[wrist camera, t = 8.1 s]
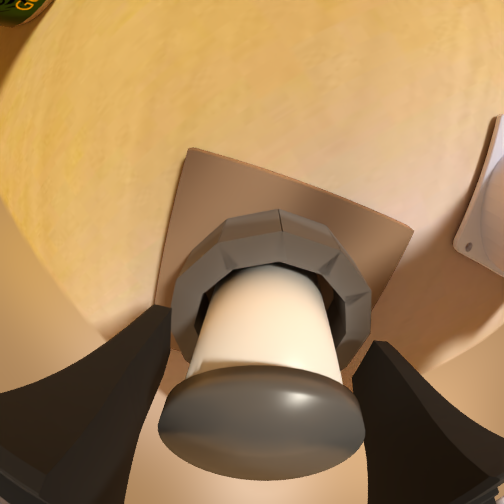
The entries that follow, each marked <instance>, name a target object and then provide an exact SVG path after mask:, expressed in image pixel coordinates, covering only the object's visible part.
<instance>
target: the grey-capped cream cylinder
mask: <svg viewBox="0 0 504 504" xmlns="http://www.w3.org/2000/svg"><path fill="white" fill-rule="evenodd" d="M158 432H159V435H160V438H161V440H162V441H163V443H164V444H165V445H166V446H167V447H168V448H169V449H170V450H171V451H172V452H173V453H174V454H175V455H177V456H178V457H180V458H181V459H183V460H184V461H186V462H188V463H190V464H192V465H194V466H196V467H198V468H201V469H203V470H206V471H209V472H212V473H215V474H219V475H223V476H227V477H232V478H238V479H246V480H261V481H262V480H263V481H266V480H267V481H269V480H286V479H293V478H300V477H304V476H309V475H312V474H316V473H319V472H322V471H325V470H327V469H330V468H332V467H334V466H336V465H338V464H340V463H342V462H343V461H345V460H346V459H348V458H349V457H351V456H352V455H353V454H354V453H355V452H356V451H357V450H358V449H359V447H360V446H361V445H362V443H363V441H364V438H365V427H364V422H363V418H362V413H361V409H360V405H359V402H358V400H357V398H356V397H355V395H354V394H353V393H352V392H351V391H350V390H349V389H348V388H347V387H346V386H344V385H343V382H342V378H341V373H340V369H339V364H338V360H337V355H336V351H335V347H334V342H333V338H332V334H331V330H330V326H329V322H328V318H327V314H326V310H325V306H324V302H323V298H322V294H321V291H320V287H319V283H318V279H317V276H316V273H315V272H312V271H308V270H305V269H302V268H299V267H296V266H292V265H289V264H286V263H283V262H280V261H279V262H273V263H267V264H262V265H256V266H250V267H244V268H238V269H233V270H232V271H231V272H230V273H228V274H227V275H226V276H225V277H223V278H222V279H221V280H220V281H218V282H217V283H216V286H215V289H214V292H213V295H212V298H211V301H210V304H209V307H208V310H207V313H206V316H205V319H204V322H203V325H202V328H201V331H200V335H199V338H198V341H197V344H196V347H195V350H194V353H193V356H192V360H191V363H190V366H189V369H188V372H187V376H186V379H185V380H184V381H182V382H181V383H179V384H178V385H176V386H175V387H174V388H173V389H172V390H171V392H170V393H169V395H168V397H167V399H166V402H165V405H164V408H163V411H162V414H161V417H160V419H159V423H158Z"/></svg>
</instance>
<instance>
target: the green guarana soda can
mask: <svg viewBox="0 0 504 504" xmlns="http://www.w3.org/2000/svg"><path fill="white" fill-rule="evenodd" d="M52 1H53V0H0V26H5V27H15V26H18V25H21V24H24V23H27V22H29V21H31V20H32V19H34V18H35V17H37V16H38V15H39V14H40V13H41V12H42V11H43V10H44V9H46V8H47V7H48V5H49V4H50V3H51V2H52Z"/></svg>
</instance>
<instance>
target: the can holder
mask: <svg viewBox="0 0 504 504" xmlns="http://www.w3.org/2000/svg"><path fill="white" fill-rule="evenodd" d="M413 233H414V230H412V229H411V228H410V227H409V226H407V225H406V224H403V223H401V222H399V221H397V220H395V219H393V218H390V217H388V216H386V215H384V214H381V213H379V212H377V211H374V210H372V209H370V208H367V207H365V206H363V205H360V204H358V203H355V202H353V201H351V200H348V199H346V198H343V197H341V196H338V195H336V194H333V193H330V192H328V191H325V190H323V189H320V188H317V187H315V186H312V185H309V184H307V183H304V182H301V181H298V180H296V179H293V178H290V177H287V176H284V175H281V174H278V173H276V172H273V171H270V170H267V169H264V168H261V167H257V166H254V165H251V164H248V163H245V162H242V161H239V160H235V159H232V158H229V157H225V156H222V155H219V154H215V153H212V152H208V151H204V150H201V149H197V148H194V147H193V148H189V149H188V151H187V155H186V159H185V162H184V166H183V170H182V174H181V177H180V181H179V185H178V189H177V193H176V197H175V202H174V206H173V210H172V214H171V219H170V223H169V228H168V233H167V237H166V242H165V247H164V252H163V257H162V263H161V268H160V274H159V279H158V285H157V291H156V297H155V304H156V305H160V306H165V307H169V308H172V315H171V344H170V348H172V349H175V350H178V351H181V352H182V354H183V357H184V359H185V360H186V361H187V362H189V363H191V360H192V356H193V353H194V350H195V347H196V344H197V341H198V338H199V335H200V331H201V328H202V325H203V322H204V319H205V316H206V313H207V310H208V307H209V304H210V301H211V298H212V295H213V292H214V289H215V286H216V283H217V282H218V281H220V280H221V279H222V278H223V277H225V276H226V275H227V274H228V273H230V272H231V271H232V270H233V269H238V268H244V267H250V266H256V265H262V264H267V263H273V262H279V261H280V262H283V263H286V264H289V265H292V266H296V267H299V268H302V269H305V270H308V271H312V272H315V273H316V276H317V279H318V283H319V287H320V291H321V294H322V298H323V302H324V306H325V310H326V314H327V318H328V322H329V326H330V330H331V334H332V338H333V342H334V347H335V351H336V355H337V360H338V364H339V369H340V371H341V370H343V369H344V368H345V367H347V365H348V364H349V363H350V361H351V360H352V359H353V357H354V356H355V354H356V353H357V352H358V350H359V349H360V347H361V346H362V344H363V343H364V342H365V340H366V339H367V337H368V336H369V334H370V327H371V311H372V309H373V307H374V306H375V304H376V302H377V301H378V299H379V297H380V296H381V294H382V292H383V290H384V289H385V287H386V285H387V283H388V281H389V280H390V278H391V276H392V274H393V272H394V270H395V269H396V267H397V265H398V263H399V261H400V259H401V257H402V255H403V253H404V251H405V249H406V247H407V245H408V243H409V241H410V239H411V237H412V235H413Z"/></svg>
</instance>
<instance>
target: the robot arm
mask: <svg viewBox="0 0 504 504" xmlns="http://www.w3.org/2000/svg"><path fill="white" fill-rule="evenodd" d="M467 244H468V246H467V247H466V245H467ZM453 247H454V249H455V250H456V251H458V252H459V253H461V254H463V255H465V256H467V257H468V258H470V259H472V260H474V261H476V262H478V263H479V264H481V265H483V266H485V267H486V268H488V269H490V270H492V271H493V272H495V273H497V274H499V275H500V276H502V277H504V114H499V115H498V116H497V119H496V124H495V128H494V132H493V135H492V139H491V143H490V146H489V150H488V153H487V156H486V160H485V163H484V166H483V169H482V172H481V175H480V178H479V180H478V183H477V186H476V189H475V191H474V194H473V196H472V199H471V201H470V204H469V206H468V209H467V211H466V214H465V216H464V218H463V220H462V223H461V225H460V227H459V229H458V232H457V234H456V236H455V238H454V241H453ZM465 247H466V248H465ZM171 315H172V308H169V307H165V306H160V305H156V304H154V305H152V306H151V307H150V308H149V309H147V310H146V311H145V312H144V313H143V314H142V315H140V316H139V317H138V318H137V319H136V320H134V321H133V322H132V323H131V324H130V325H128V326H127V327H126V328H125V329H123V330H122V331H121V332H119V333H118V334H117V335H116V336H114V337H113V338H112V339H110V340H109V341H108V342H106V343H105V344H103V345H102V346H100V347H99V348H98V349H96V350H95V351H93V352H92V353H90V354H89V355H87V356H86V357H84V358H83V359H81V360H79V361H77V362H76V363H74V364H72V365H70V366H68V367H67V368H65V369H63V370H61V371H59V372H57V373H55V374H52V375H50V376H48V377H46V378H44V379H41V380H39V381H37V382H34V383H32V384H29V385H26V386H24V387H20V388H17V389H14V390H11V391H7V392H4V393H0V504H124V499H125V494H126V489H127V484H128V479H129V474H130V470H131V465H132V461H133V457H134V453H135V449H136V445H137V441H138V438H139V434H140V431H141V429H142V426H143V423H144V421H145V418H146V416H147V413H148V411H149V409H150V406H151V404H152V401H153V399H154V396H155V394H156V392H157V389H158V387H159V385H160V382H161V380H162V377H163V375H164V371H165V368H166V365H167V361H168V358H169V354H170V344H171ZM352 383H353V394H354V395H355V397H356V398H357V400H358V402H359V405H360V409H361V413H362V418H363V422H364V427H365V438H364V446H365V451H366V457H367V471H368V504H504V496H502V497H501V498H499V499H498V500H496V501H495V499H494V497H495V496H496V495H498V493H499V491H498V488H497V487H498V486H500V485H501V484H502V483H504V438H503V437H501V436H499V435H497V434H495V433H493V432H491V431H489V430H487V429H486V428H484V427H482V426H481V425H479V424H478V423H476V422H474V421H473V420H471V419H470V418H469V417H467V416H466V415H464V414H463V413H462V412H460V411H459V410H458V409H457V408H456V407H454V406H453V405H452V404H450V403H449V402H448V401H447V400H446V399H445V398H444V397H443V396H441V394H439V393H438V392H437V391H436V390H435V389H434V388H433V387H432V386H431V385H430V384H429V383H428V382H427V381H426V380H425V379H424V378H423V377H422V376H421V375H420V374H419V373H418V372H417V371H416V370H415V369H414V368H413V367H412V365H411V364H410V363H409V362H408V361H407V360H406V359H405V358H404V357H403V356H402V355H401V354H400V353H399V352H398V351H397V350H396V349H395V348H394V347H393V346H391V345H390V344H389V343H388V342H383V341H373V343H372V345H371V346H370V348H369V350H368V352H367V353H366V355H365V357H364V359H363V360H362V362H361V364H360V365H359V367H358V369H357V370H356V372H355V374H354V375H353V377H352Z"/></svg>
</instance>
